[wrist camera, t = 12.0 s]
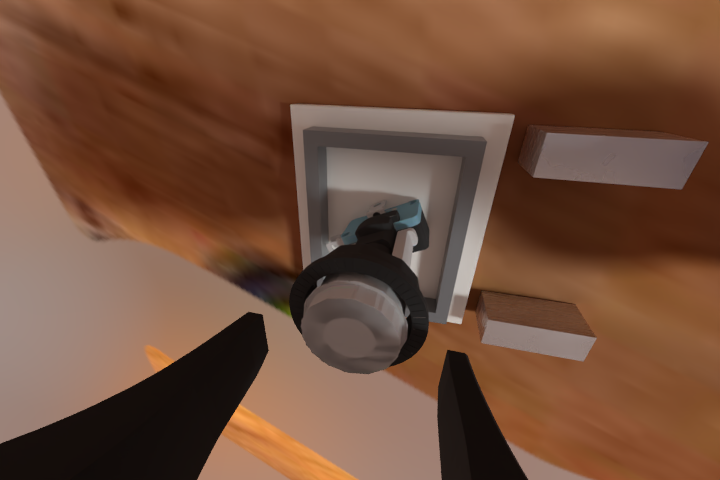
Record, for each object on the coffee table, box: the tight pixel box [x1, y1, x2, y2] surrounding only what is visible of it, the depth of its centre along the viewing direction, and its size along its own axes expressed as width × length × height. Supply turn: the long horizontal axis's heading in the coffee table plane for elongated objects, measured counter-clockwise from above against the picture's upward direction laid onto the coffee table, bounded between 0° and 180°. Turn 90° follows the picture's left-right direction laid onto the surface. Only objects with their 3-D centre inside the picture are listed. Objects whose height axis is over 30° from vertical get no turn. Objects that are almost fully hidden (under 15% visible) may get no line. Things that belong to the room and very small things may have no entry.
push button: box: [289, 199, 429, 374], centre depth 15 cm, size 7×5×10 cm
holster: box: [476, 125, 709, 361], centre depth 17 cm, size 6×13×3 cm, turn 178°
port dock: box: [290, 103, 515, 324], centre depth 19 cm, size 12×14×2 cm
